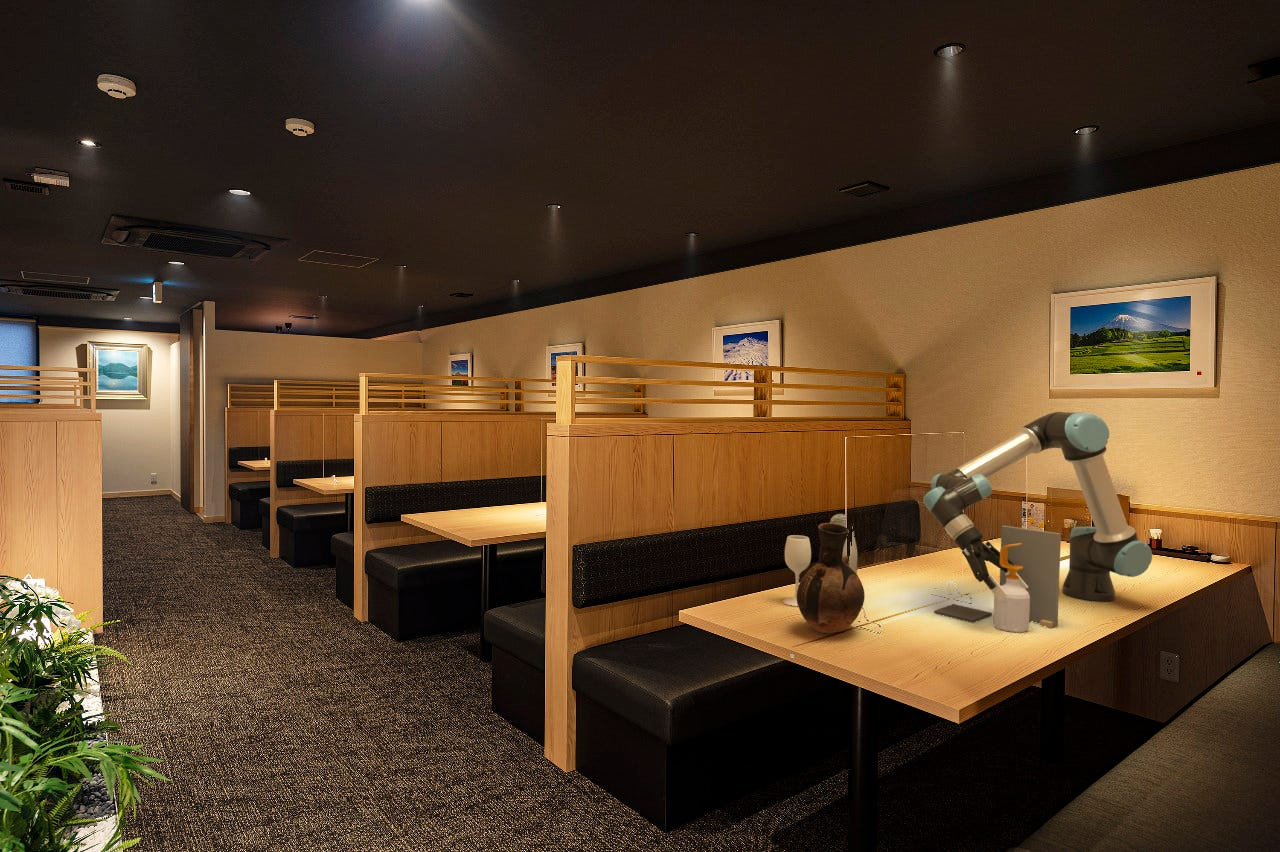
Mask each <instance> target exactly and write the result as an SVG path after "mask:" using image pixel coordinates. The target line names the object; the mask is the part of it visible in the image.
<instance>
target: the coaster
mask: <svg viewBox="0 0 1280 852" xmlns="http://www.w3.org/2000/svg"><path fill="white" fill-rule="evenodd" d="M934 613H936V614H935V615H940V616H943V615H944V616H943V617H948V618H951V617H952V618H951V619H955V618H956V620H959V619H960V621H963V620H964V621H963V622H967V621H968V623H971V624H974V623H977V622H978V621H981V620H984V619H986V618H988V617H991V616H992V615H993V614H992V613H993V612H991V611H987V610H982V609H977V608H973V607H969V606H964V605H959V604H956V603H951V604H950V605H947V606H943V607H941V608H938V609H936V610H934V611H933V614H934ZM976 621H977V622H976Z"/></svg>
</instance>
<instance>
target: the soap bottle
mask: <svg viewBox="0 0 1280 852" xmlns="http://www.w3.org/2000/svg"><path fill="white" fill-rule="evenodd" d="M1021 544H1022V543H1017V544H1010V545H1006V546H1003V547H1001V546H1000V548H999V549H1000V550H999V552H1000V565H1001V567H1004V568H1007V570H1008V571H1009V575H1006V583H1005V584H1004V585H1001V587H1002V588H1003V590H1004V591H1005V592H1006V593H1007V596H1005V597H1004V598H1003V599H1001V600H998V598H997V597H996V596H995V595H994V594H993V618H992V619H993V621H992V623H993V626H994V628H997V629H998V630H1001V631H1004V632H1008V631H1010V633H1024V632H1025V631H1026V632H1028V631H1029V630H1030V622H1029V610H1030V596H1029V593H1028V592H1027V591H1026V590H1025V589H1024V588H1023V587H1021V586H1020V585H1019V577H1018V576H1016V572H1018V570H1020V569H1023V567H1022V566H1017V565H1011V564H1009V563H1008V560H1007V559H1008V548H1009V547H1011V546H1017V545H1021Z"/></svg>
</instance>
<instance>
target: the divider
mask: <svg viewBox="0 0 1280 852" xmlns="http://www.w3.org/2000/svg"><path fill="white" fill-rule="evenodd" d="M1000 530H1001V533H1000V548H1001V547H1003V546H1006V545H1010V544H1017V543H1022V544H1021V545H1017V546H1011V547H1009V548H1008V559H1009V560H1010V561H1011V562H1012V563H1014V565H1017V566H1022V567H1023V569H1020V570H1018V572H1016V573H1017V574H1018V575H1019V576H1020V577H1021V579H1022V580H1023V581H1024V582H1025V583H1026V585H1027V586H1028V588H1027V589H1025V590H1026V591H1027V592H1028V593H1029V596H1030V610H1029V621H1033V622H1037V623H1040V624H1039V626H1040V625H1042V626H1041V627H1043V626H1046V627H1045V628H1047V627H1050V628H1049V629H1053V628H1055V627H1056V626H1059V601H1060V599H1059V595H1060V593H1059V592H1060V567H1061V564H1060V563H1061V545H1062V542H1061V541H1062V533H1060V532H1054V531H1045V530H1044V531H1043V530H1039V529H1030V528H1023V527H1016V526H1009V525H1001V529H1000ZM1005 573H1006V572H1004V571H1003V570H1001V569H1000V568H999V585H1000V586H1001V585H1004V584H1005V583H1006V575H1005ZM1033 622H1032V623H1033ZM1037 623H1036V624H1037ZM1052 627H1053V628H1052ZM1056 628H1057V627H1056Z"/></svg>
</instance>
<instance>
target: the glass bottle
mask: <svg viewBox="0 0 1280 852" xmlns="http://www.w3.org/2000/svg"><path fill="white" fill-rule="evenodd" d="M846 515H847V514H846ZM846 515H845V514H844V513H837V514H835V515H833V516H832V517H831V518H830V521H829V523H835V524H839V525H842V526H844V527H846ZM852 529H853V526H852ZM854 536H855V530H854V531H853V532H852V546H851V542H850V556H849V566H850V567H851V568H852V569H853V570H854V571H855V572H856V574H857V573H858V547H857V541H856V537H854ZM844 556H846V541H845V544H844V548H843V557H844ZM857 575H858V574H857Z"/></svg>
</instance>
